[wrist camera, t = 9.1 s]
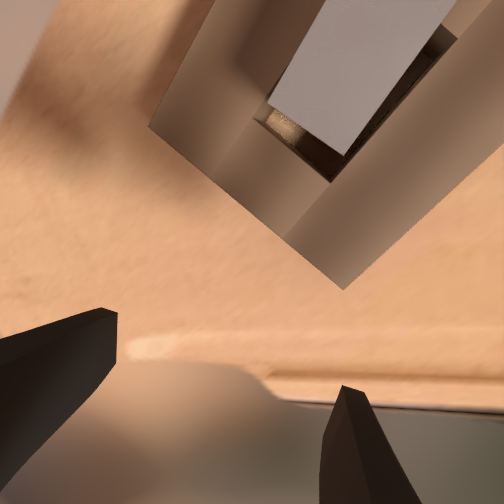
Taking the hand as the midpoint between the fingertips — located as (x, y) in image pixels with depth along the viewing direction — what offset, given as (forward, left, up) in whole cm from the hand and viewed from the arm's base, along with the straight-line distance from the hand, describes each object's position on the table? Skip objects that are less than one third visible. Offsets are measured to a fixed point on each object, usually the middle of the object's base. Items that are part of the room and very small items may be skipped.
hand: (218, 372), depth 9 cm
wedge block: (+3, -9, -10) cm, 14 cm away
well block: (+3, -9, -9) cm, 13 cm away
